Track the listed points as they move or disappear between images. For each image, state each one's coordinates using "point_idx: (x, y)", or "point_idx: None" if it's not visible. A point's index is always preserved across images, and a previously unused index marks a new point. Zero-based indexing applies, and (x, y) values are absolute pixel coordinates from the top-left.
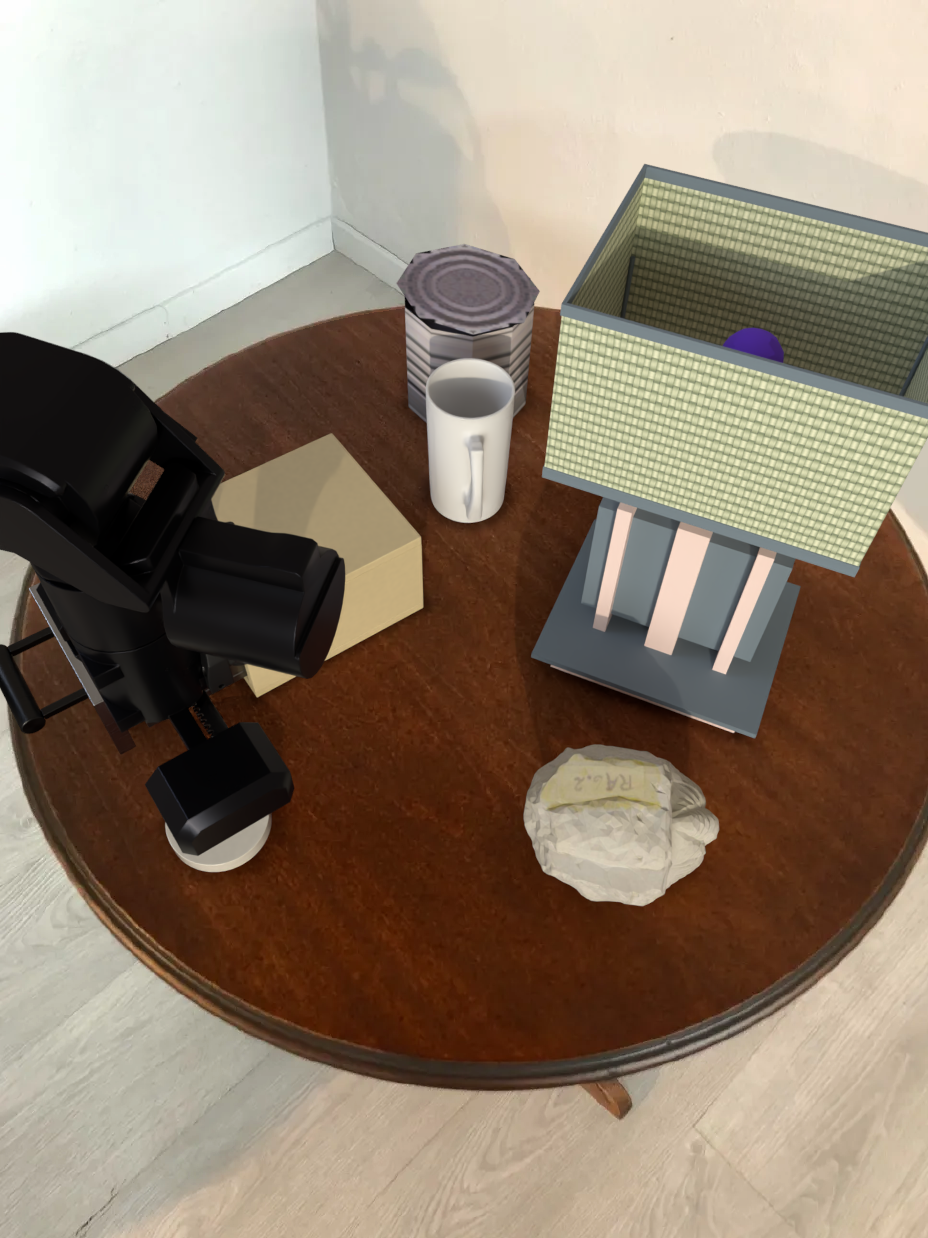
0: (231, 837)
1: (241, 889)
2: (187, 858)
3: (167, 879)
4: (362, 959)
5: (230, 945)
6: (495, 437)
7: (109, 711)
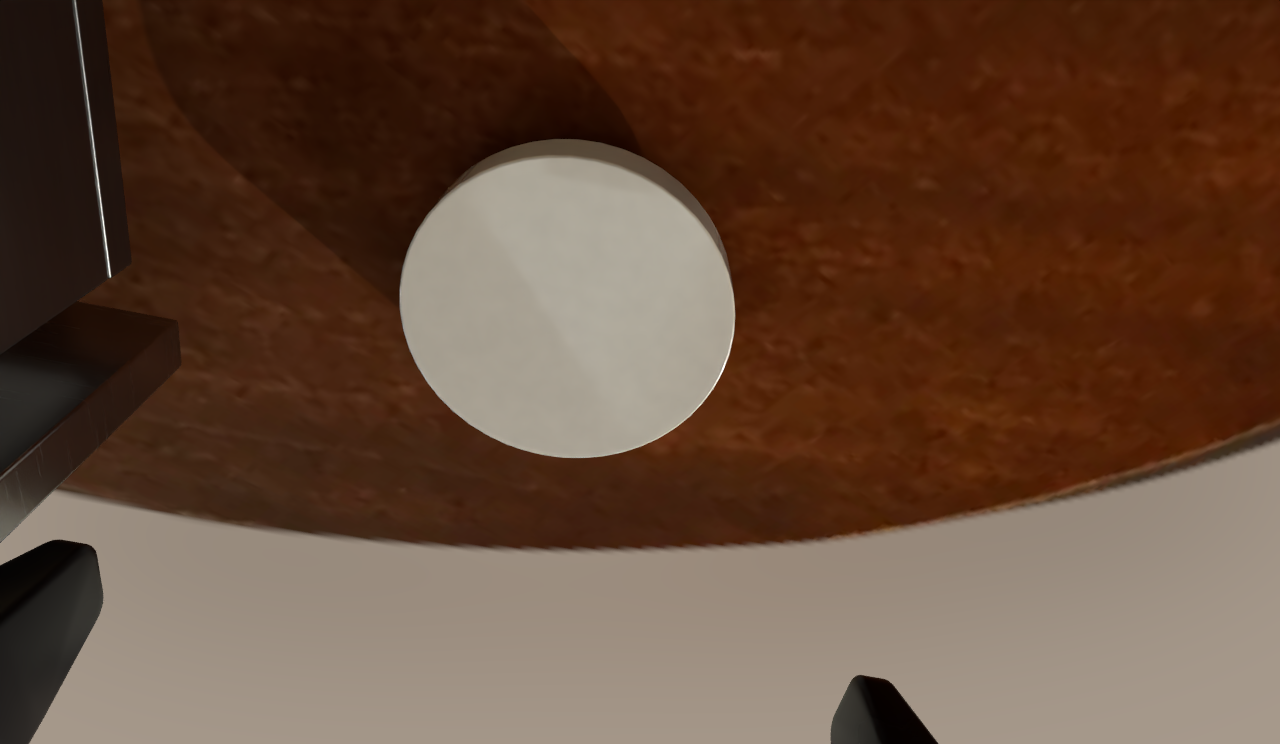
0: (657, 336)
1: (764, 360)
2: (616, 452)
3: (595, 459)
4: (1194, 268)
5: (852, 460)
6: None
7: (17, 489)
